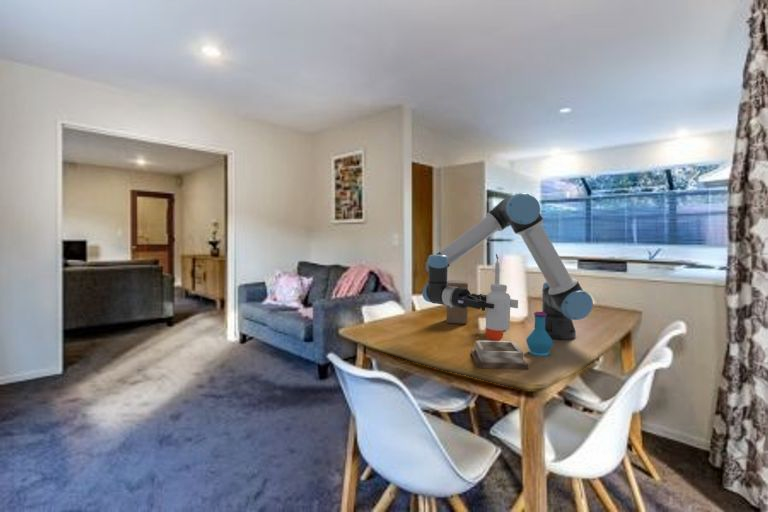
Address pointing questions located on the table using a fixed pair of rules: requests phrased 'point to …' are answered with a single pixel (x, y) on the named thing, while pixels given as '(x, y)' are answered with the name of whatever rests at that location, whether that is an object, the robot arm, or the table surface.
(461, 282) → the wooden block
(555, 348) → the table surface
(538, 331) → the perfume bottle
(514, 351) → the bottle stand
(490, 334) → the red round lump
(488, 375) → the table surface
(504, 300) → the pill bottle
